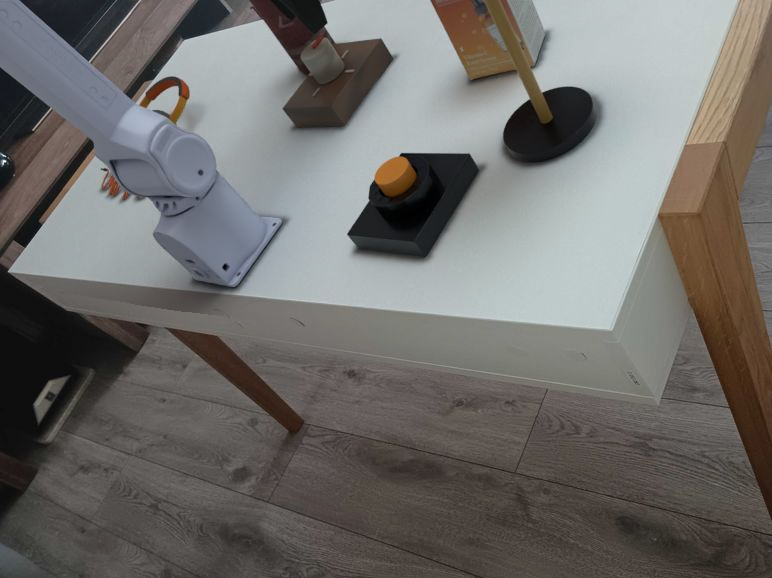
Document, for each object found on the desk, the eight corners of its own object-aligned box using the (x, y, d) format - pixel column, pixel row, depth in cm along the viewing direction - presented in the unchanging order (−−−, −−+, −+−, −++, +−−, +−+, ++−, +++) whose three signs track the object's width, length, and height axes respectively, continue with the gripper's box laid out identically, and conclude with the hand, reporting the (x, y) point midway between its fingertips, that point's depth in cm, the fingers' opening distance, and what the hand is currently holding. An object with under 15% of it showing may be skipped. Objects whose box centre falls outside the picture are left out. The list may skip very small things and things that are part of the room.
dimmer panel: (344, 126, 90) (329, 105, 87) (296, 127, 95) (281, 107, 93) (393, 58, 94) (380, 36, 92) (344, 63, 99) (331, 42, 97)
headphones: (158, 212, 104) (221, 89, 107) (124, 192, 100) (190, 65, 103) (104, 201, 115) (163, 89, 118) (72, 183, 111) (133, 68, 114)
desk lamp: (575, 168, 67) (456, -96, 50) (486, 166, 73) (352, -70, 56) (618, 90, 70) (520, -181, 53) (529, 94, 76) (416, -148, 59)
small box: (470, 82, 83) (425, -3, 75) (483, 49, 85) (441, -36, 78) (536, 66, 79) (495, -25, 71) (547, 33, 81) (509, -59, 74)
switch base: (426, 257, 69) (405, 228, 66) (358, 249, 74) (335, 221, 71) (479, 169, 73) (461, 138, 70) (411, 168, 78) (392, 139, 75)
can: (343, 39, 104) (282, -56, 94) (334, 67, 100) (269, -29, 90) (307, 54, 106) (244, -37, 96) (297, 81, 102) (230, -10, 93)
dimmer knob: (333, 83, 90) (315, 56, 88) (311, 85, 93) (293, 59, 90) (350, 61, 92) (332, 33, 89) (328, 63, 94) (310, 36, 92)
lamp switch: (405, 198, 69) (395, 185, 68) (377, 197, 71) (367, 183, 70) (423, 170, 71) (414, 156, 69) (395, 169, 73) (386, 156, 71)
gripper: (284, -111, 73) (359, 11, 83) (241, -121, 83) (311, -11, 93) (229, -66, 73) (310, 52, 82) (192, -81, 83) (268, 25, 93)
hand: (308, 21), depth 88 cm, fingers open, 7 cm apart
